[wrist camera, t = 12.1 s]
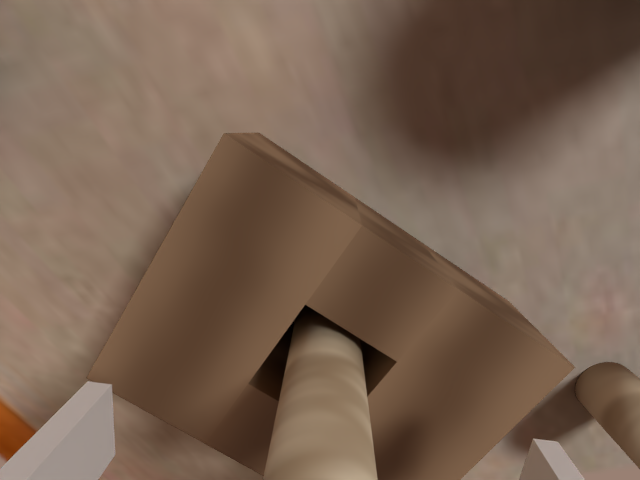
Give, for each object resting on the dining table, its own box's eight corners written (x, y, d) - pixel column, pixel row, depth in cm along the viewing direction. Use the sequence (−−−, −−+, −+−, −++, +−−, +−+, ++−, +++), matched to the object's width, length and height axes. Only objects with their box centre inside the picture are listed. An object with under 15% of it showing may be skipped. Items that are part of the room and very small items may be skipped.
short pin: (645, 380, 22) (733, 452, 17) (603, 418, 22) (676, 496, 18) (604, 352, 21) (681, 417, 16) (563, 391, 22) (625, 464, 17)
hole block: (508, 301, 21) (574, 367, 15) (378, 445, 24) (391, 546, 18) (258, 132, 19) (223, 133, 13) (152, 312, 22) (86, 378, 16)
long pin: (367, 298, 21) (426, 603, 8) (335, 340, 22) (337, 682, 8) (318, 268, 21) (289, 534, 7) (288, 312, 21) (210, 624, 8)
